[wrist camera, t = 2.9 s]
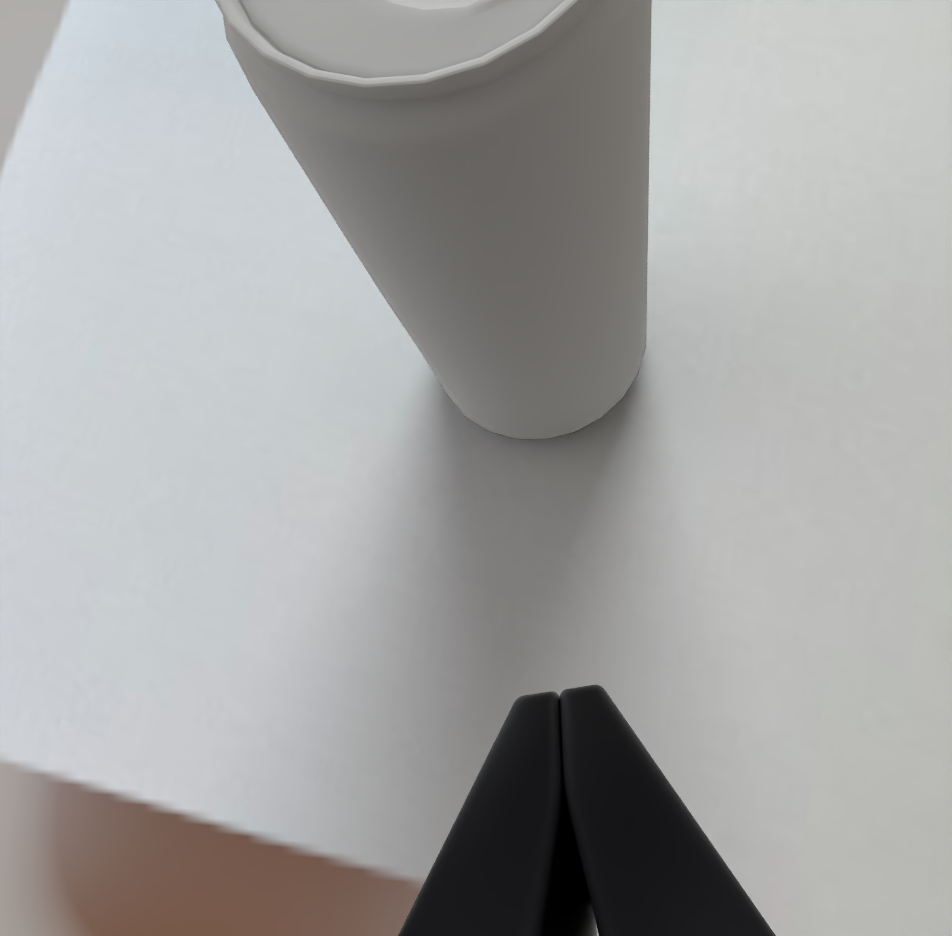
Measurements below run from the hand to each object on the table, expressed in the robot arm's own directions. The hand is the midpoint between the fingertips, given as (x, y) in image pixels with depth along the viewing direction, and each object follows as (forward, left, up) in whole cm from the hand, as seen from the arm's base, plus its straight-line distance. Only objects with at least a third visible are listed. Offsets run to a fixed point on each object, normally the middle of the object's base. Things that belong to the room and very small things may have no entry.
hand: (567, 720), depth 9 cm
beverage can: (+8, +2, -10) cm, 13 cm away
